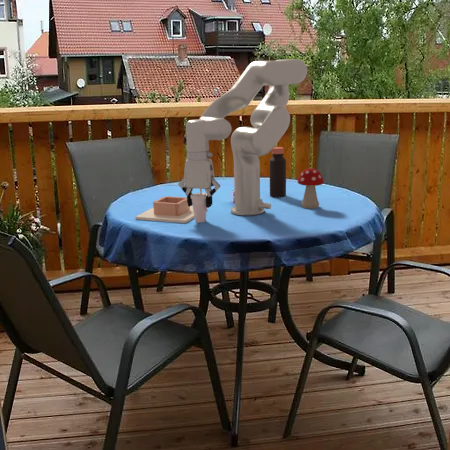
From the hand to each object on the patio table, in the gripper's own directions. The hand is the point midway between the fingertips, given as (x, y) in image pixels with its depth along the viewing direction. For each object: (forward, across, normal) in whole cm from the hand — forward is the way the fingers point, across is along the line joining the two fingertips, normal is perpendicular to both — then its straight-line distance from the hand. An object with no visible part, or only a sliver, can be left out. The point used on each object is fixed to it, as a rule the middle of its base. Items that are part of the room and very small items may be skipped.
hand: (199, 205), depth 212 cm
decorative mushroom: (+6, -33, -30) cm, 45 cm away
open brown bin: (+6, +14, -6) cm, 16 cm away
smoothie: (+6, 0, 0) cm, 6 cm away
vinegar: (+6, -16, -45) cm, 48 cm away
